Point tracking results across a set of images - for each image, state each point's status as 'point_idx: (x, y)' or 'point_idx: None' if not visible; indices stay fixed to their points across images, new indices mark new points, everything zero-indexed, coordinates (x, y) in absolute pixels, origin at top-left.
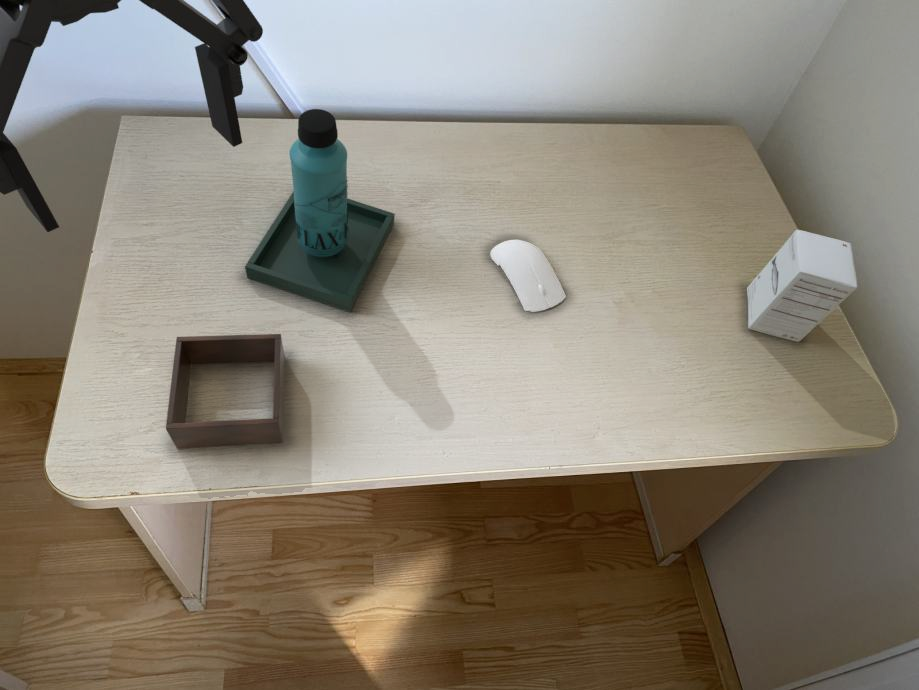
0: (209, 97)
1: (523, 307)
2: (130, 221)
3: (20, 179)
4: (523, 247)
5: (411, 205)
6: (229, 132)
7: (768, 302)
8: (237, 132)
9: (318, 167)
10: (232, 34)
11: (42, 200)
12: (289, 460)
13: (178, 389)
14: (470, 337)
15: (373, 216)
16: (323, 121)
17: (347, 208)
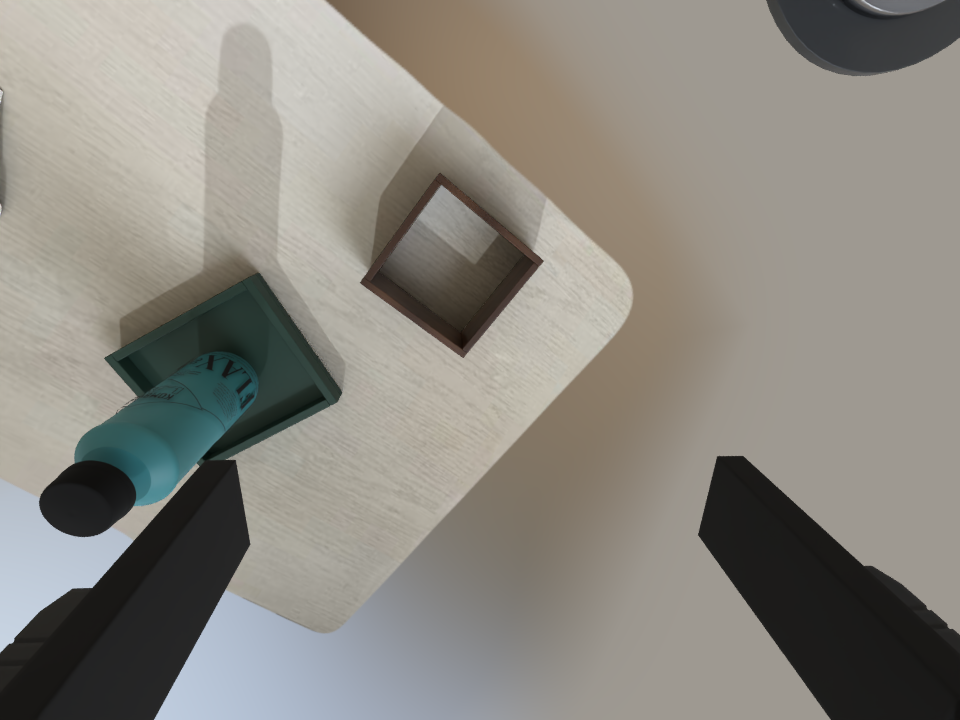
0: (192, 621)
1: (1, 97)
2: (407, 523)
3: (880, 585)
4: None
5: (74, 362)
6: (214, 494)
7: None
8: (193, 485)
9: (141, 441)
10: None
11: (782, 514)
12: (448, 148)
13: (500, 299)
14: (122, 119)
15: (138, 374)
16: (63, 503)
17: None
